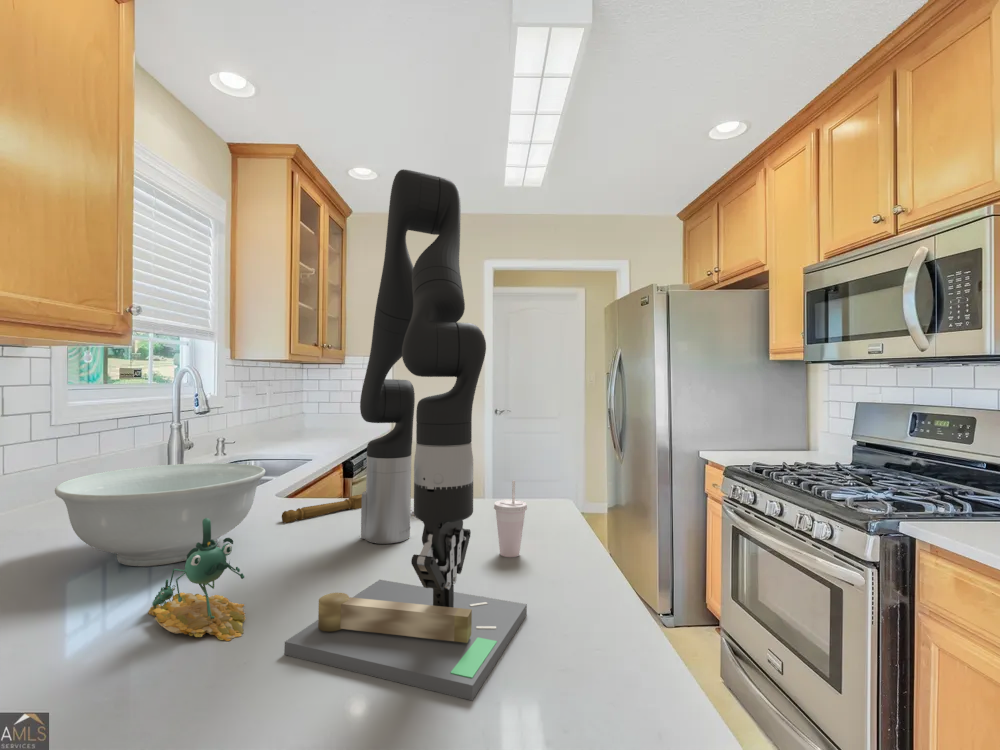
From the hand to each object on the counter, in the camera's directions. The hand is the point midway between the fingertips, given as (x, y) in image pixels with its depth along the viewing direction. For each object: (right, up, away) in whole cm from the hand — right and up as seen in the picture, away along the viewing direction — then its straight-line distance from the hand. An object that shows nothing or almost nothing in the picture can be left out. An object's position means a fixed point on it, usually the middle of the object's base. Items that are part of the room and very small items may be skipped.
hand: (443, 615), depth 62 cm
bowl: (-55, -3, +30) cm, 63 cm away
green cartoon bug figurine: (-33, -3, +4) cm, 34 cm away
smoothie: (+9, -4, +32) cm, 33 cm away
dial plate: (-4, -3, +1) cm, 5 cm away
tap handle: (-33, -5, +62) cm, 71 cm away
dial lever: (-6, -1, -2) cm, 6 cm away
